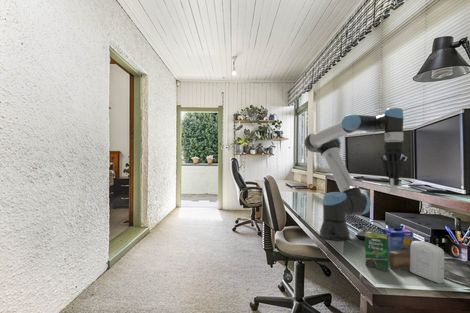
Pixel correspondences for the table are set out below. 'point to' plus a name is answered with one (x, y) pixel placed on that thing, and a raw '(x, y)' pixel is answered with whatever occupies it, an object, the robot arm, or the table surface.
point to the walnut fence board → (399, 259)
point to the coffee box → (376, 250)
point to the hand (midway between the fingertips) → (393, 192)
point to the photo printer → (427, 261)
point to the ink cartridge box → (398, 238)
